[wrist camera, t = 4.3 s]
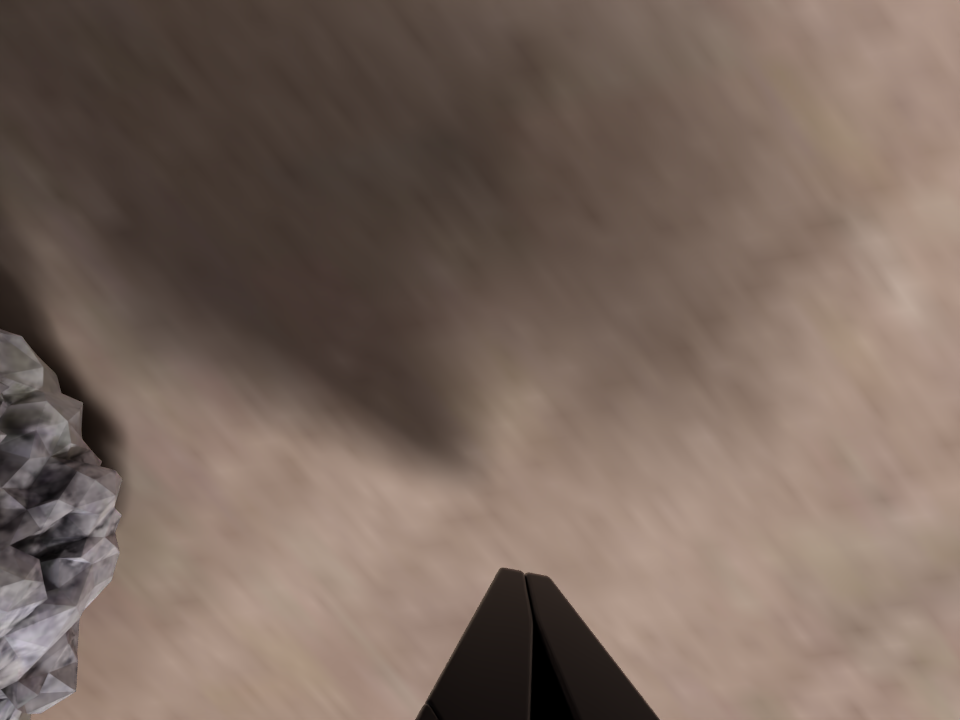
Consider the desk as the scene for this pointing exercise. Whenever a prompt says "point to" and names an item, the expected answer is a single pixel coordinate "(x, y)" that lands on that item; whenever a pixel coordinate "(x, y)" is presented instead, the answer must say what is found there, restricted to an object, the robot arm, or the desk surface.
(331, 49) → the desk surface
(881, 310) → the desk surface
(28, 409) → the mineral specimen
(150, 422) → the desk surface
